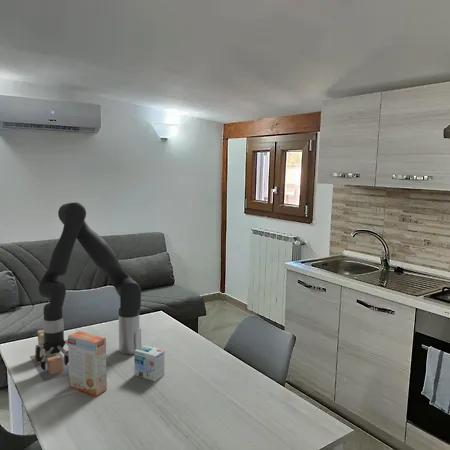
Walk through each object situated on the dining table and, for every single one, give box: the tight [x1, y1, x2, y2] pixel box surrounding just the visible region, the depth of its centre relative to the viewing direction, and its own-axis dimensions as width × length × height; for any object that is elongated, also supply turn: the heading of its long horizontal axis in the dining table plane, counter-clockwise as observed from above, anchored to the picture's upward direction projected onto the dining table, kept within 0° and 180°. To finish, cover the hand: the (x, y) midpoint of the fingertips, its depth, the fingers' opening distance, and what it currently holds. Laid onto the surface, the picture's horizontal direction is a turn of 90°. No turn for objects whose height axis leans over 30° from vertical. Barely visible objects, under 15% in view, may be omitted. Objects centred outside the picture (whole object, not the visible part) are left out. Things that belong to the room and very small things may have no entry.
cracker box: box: [67, 330, 108, 397], centre depth 162 cm, size 14×6×21 cm, turn 62°
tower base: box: [40, 349, 56, 362], centre depth 186 cm, size 6×6×6 cm
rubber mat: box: [29, 351, 69, 382], centre depth 181 cm, size 26×12×1 cm, turn 35°
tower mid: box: [37, 329, 44, 349], centre depth 186 cm, size 6×6×6 cm
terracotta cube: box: [47, 355, 63, 375], centre depth 176 cm, size 5×5×5 cm
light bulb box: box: [133, 344, 166, 382], centre depth 174 cm, size 11×7×11 cm, turn 62°
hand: (55, 366), depth 176 cm, fingers open, 8 cm apart
